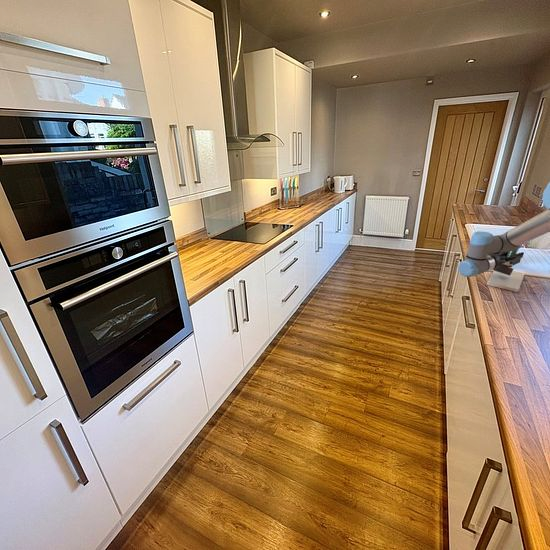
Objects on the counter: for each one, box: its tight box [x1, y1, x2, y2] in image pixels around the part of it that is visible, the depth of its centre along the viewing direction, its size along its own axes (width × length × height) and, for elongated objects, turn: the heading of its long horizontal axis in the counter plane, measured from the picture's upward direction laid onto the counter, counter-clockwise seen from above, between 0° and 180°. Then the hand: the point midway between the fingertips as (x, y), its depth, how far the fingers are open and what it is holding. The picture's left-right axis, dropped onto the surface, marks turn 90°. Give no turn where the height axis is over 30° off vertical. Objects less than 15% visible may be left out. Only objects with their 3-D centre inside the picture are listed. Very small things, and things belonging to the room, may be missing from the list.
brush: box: [493, 249, 519, 276], centre depth 139 cm, size 7×5×14 cm
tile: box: [486, 270, 526, 293], centre depth 141 cm, size 12×22×2 cm, turn 137°
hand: (518, 253), depth 141 cm, fingers closed on brush, 3 cm apart
